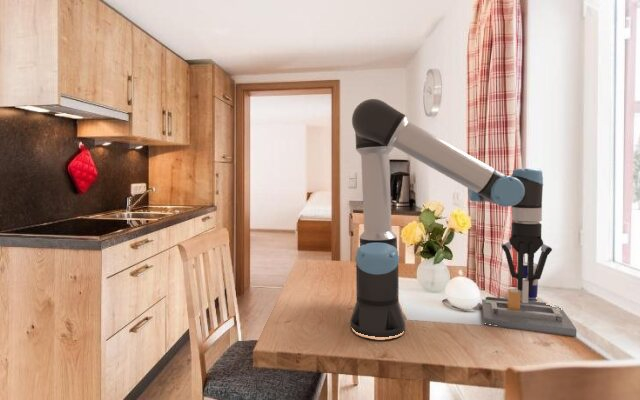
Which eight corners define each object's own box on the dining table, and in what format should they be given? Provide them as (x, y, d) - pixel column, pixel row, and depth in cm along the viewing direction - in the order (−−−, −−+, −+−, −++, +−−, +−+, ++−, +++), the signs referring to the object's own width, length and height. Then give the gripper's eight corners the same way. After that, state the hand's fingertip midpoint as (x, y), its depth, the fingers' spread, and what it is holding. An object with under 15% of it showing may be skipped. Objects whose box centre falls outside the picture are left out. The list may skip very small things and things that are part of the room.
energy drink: (517, 298, 122) (518, 264, 121) (521, 294, 126) (522, 261, 125) (535, 302, 119) (536, 267, 118) (539, 298, 122) (540, 263, 122)
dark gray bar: (562, 312, 110) (562, 307, 110) (485, 304, 118) (485, 299, 118) (561, 310, 111) (561, 305, 111) (485, 302, 119) (485, 297, 119)
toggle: (520, 313, 104) (520, 290, 104) (508, 312, 105) (508, 289, 105) (518, 309, 107) (518, 287, 107) (507, 308, 108) (507, 286, 108)
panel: (576, 336, 94) (576, 323, 94) (484, 324, 102) (484, 312, 102) (561, 314, 109) (561, 302, 108) (481, 305, 117) (482, 294, 117)
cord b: (552, 308, 113) (553, 304, 113) (485, 301, 120) (485, 297, 120) (551, 307, 114) (552, 302, 114) (485, 300, 122) (485, 296, 122)
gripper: (549, 220, 104) (547, 299, 106) (500, 219, 109) (498, 294, 111) (555, 224, 97) (553, 308, 99) (502, 222, 102) (500, 303, 104)
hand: (524, 301), depth 105 cm, fingers closed
